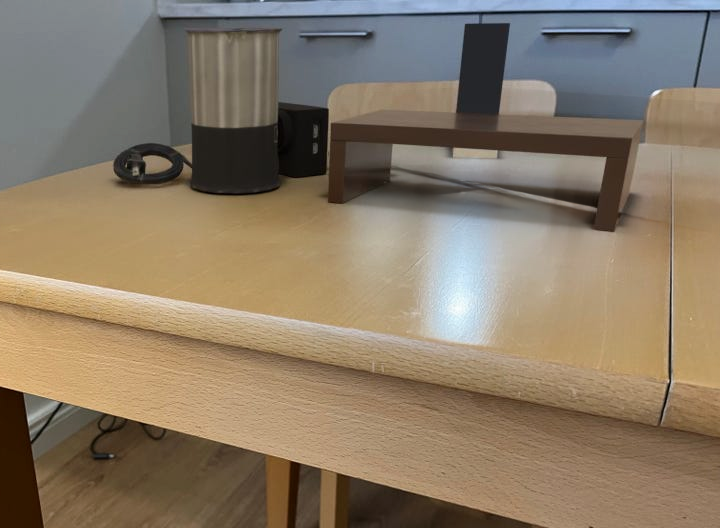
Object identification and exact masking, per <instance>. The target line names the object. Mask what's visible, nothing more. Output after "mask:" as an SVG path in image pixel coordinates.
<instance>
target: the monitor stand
mask: <svg viewBox="0 0 720 528" xmlns="http://www.w3.org/2000/svg"><path fill="white" fill-rule="evenodd" d="M643 127H644V120H643V119H625V118H623V119H621V118H600V117H599V118H597V117H595V118H594V117H575V116H574V117H572V116H571V117H570V116H550V115H549V116H548V115H546V116H545V115H525V114H524V115H523V114H520V115H519V114H500V113H499V114H477V113H456V112H453V111H451V112H449V111H426V110H425V111H423V110H403V109H402V110H401V109H377V110H375V111H371V112H367V113H363V114H360V115H359V114H358V115H355V116H351V117H347V118H343V119H340V120H336V121H333V122H331V123H330V135H329V160H328V161H329V164H328V165H329V166H328V187H327V189H328V191H327V202H328V203H333V204H344V203H346V202H348V201H351V200H352V199H354V198H357V197H358V196H359V197H360V195H362V194H365V193H366V192H368V191H370V190H373V189H374V188H377V187H379V186H380V185H383V184H385V183H387V182H389V181H390V180H391V172H392V159H393V145H402V146H403V145H404V146H419V147H436V148H450V149H453V148H465V149H482V150H498V152H515V153H532V154H533V153H534V154H546V155H547V154H548V155H565V156H581V157H595V158H596V157H597V158H605V163H604V169H603V174H602V179H601V186H600V190H599V196H598V200H597V201H598V202H597V208H596V213H595V217H594V223H593V228H592V229H593V230H596V231H606V232H615V230H616V229H617V226H618V224H619V222H620V219H621V217H622V214H623V209H624V207H625V205H626V202H627V200H628V198H629V196H630V192H631V186H632V182H633V177H634V171H635V167H636V162H637V157H638V152H639V148H640V147H639V146H640V141H641V136H642V131H643Z"/></svg>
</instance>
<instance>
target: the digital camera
mask: <svg viewBox="0 0 720 528" xmlns="http://www.w3.org/2000/svg"><path fill="white" fill-rule="evenodd" d="M329 117H330V108H328V107H323V106H316V105H308V104H307V105H306V104H300V103H291V102H283V101H282V102H281V101H278V121H277V122H278V139H277V141H278V142H277V146H278V148H277V155H278V164H279V171H278V174H280V175H284V176H287V177H291V178H303V177H309V176H319V175H326V174H327V172H328V169H327V168H328V145H329V121H330V120H329V119H330V118H329Z"/></svg>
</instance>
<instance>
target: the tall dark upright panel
mask: <svg viewBox="0 0 720 528" xmlns="http://www.w3.org/2000/svg"><path fill="white" fill-rule="evenodd" d="M510 27H511V22H489V23H488V22H487V23H486V22H485V23H484V22H483V23H482V22H481V23H480V22H479V23H474V22H473V23H472V22H471V23H464V29H463V38H462V49H461V58H460V66H459V67H460V69H459V79H458V88H457V97H456V108H455V113H477V114H500V109H501V100H502V92H503V85H504V76H505V68H506V60H507V53H508V46H509V45H508V44H509V35H510ZM498 152H499V151H498V150H482V149H465V148H452V158H462V159H463V158H467V159H469V158H470V159H498V154H499V153H498Z"/></svg>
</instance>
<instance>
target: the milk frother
mask: <svg viewBox="0 0 720 528" xmlns="http://www.w3.org/2000/svg"><path fill="white" fill-rule="evenodd" d="M282 31H283V28H282V27H271V26H270V27H269V26H268V27H266V26H265V27H264V26H256V27H255V26H249V27H248V26H243V27H241V26H240V27H190V28H188V27H187V28H184V32H185V33H187V40H188V41H187V42H188V44H187V45H188V67H189V68H188V70H189V94H190V95H189V96H190V119H191V121H190V122H191V125H190V126H191V162H190V161H189V159H187V157H186V156H185V155H183V154H182V153H181V152H180V151H178V150H176V149H175V148H173V147H172V146H170V145H166V144H162V143H156V142H147V143H140V144H135V145H133V146H131V147H130V146H129V147H128V148H127V149H124V150H123V151H121V152H120V153H119V154H118V155H117V156H116V157H115V158H114V160H113V164H112V166H113V172H114V174H115V176H116V177H118V178H119V179H121V180H122V181H125V182H128V183H133V184H137V185H139V184H140V185H161V184H166V183H169V182H172V181H174V180H175V179H177V178H179V177H180V175H181V174H182V173H183V171H184V165H186V166H188V167H189V168H190V169H191V176H190V180H189V186H190V188H192V189H195V190H198V191H201V192H206V193H213V194H232V195H233V194H234V195H235V194H254V193H260V192H266V191H271V190H275V189H278V187H280V185H281V180H280V179H279V173H278V171H279V164H278V155H277V148H278V146H277V142H278V141H277V139H278V122H277V121H278V102H279V75H280V74H279V71H280V69H279V68H280V67H279V66H280V63H279V62H280V61H279V60H280V59H279V58H280V54H279V52H280V32H282ZM150 156H152V157H154V156H155V157H160V158H163V159H165V160H167V161H168V162H170V163H171V166H170V167H168V168H167V169H166V170H162V171H159V172H154V173H146V169H147V168H146V167H147V162H146V161H145V160H144V159H143V158H145V157H150Z"/></svg>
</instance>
